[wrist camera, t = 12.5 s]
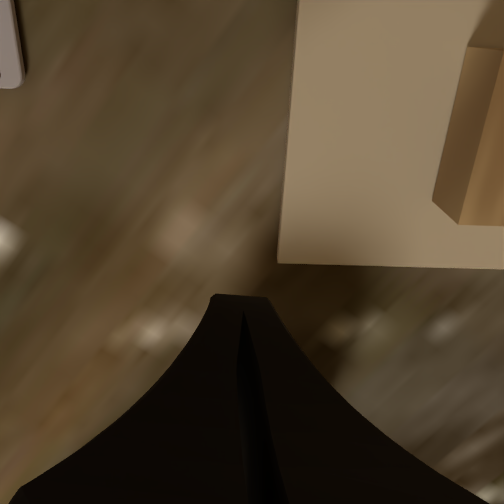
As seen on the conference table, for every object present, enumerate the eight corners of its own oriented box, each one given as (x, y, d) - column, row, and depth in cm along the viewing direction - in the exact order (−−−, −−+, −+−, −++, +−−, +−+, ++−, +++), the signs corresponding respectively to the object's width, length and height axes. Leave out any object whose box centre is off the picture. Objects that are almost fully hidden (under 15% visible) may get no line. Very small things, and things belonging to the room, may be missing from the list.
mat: (276, 257, 22) (277, 263, 21) (301, -51, 16) (304, -54, 16) (569, 265, 22) (577, 271, 22) (684, -27, 17) (698, -29, 16)
